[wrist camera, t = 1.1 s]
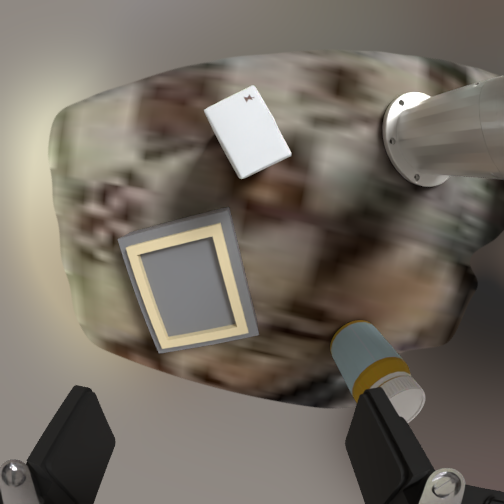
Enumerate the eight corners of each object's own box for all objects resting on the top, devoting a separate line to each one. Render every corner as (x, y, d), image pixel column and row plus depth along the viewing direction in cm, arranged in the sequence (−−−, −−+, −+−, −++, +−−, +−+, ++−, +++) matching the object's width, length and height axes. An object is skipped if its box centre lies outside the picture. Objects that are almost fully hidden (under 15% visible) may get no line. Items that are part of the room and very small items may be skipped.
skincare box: (213, 133, 30) (200, 107, 18) (248, 116, 30) (255, 81, 18) (239, 181, 32) (240, 181, 20) (273, 163, 31) (295, 154, 20)
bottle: (365, 308, 36) (423, 372, 22) (381, 343, 38) (432, 408, 23) (320, 336, 37) (359, 413, 22) (340, 369, 38) (378, 443, 24)
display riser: (229, 206, 32) (227, 211, 27) (256, 318, 36) (259, 338, 31) (130, 232, 32) (114, 240, 28) (165, 336, 36) (157, 357, 31)
